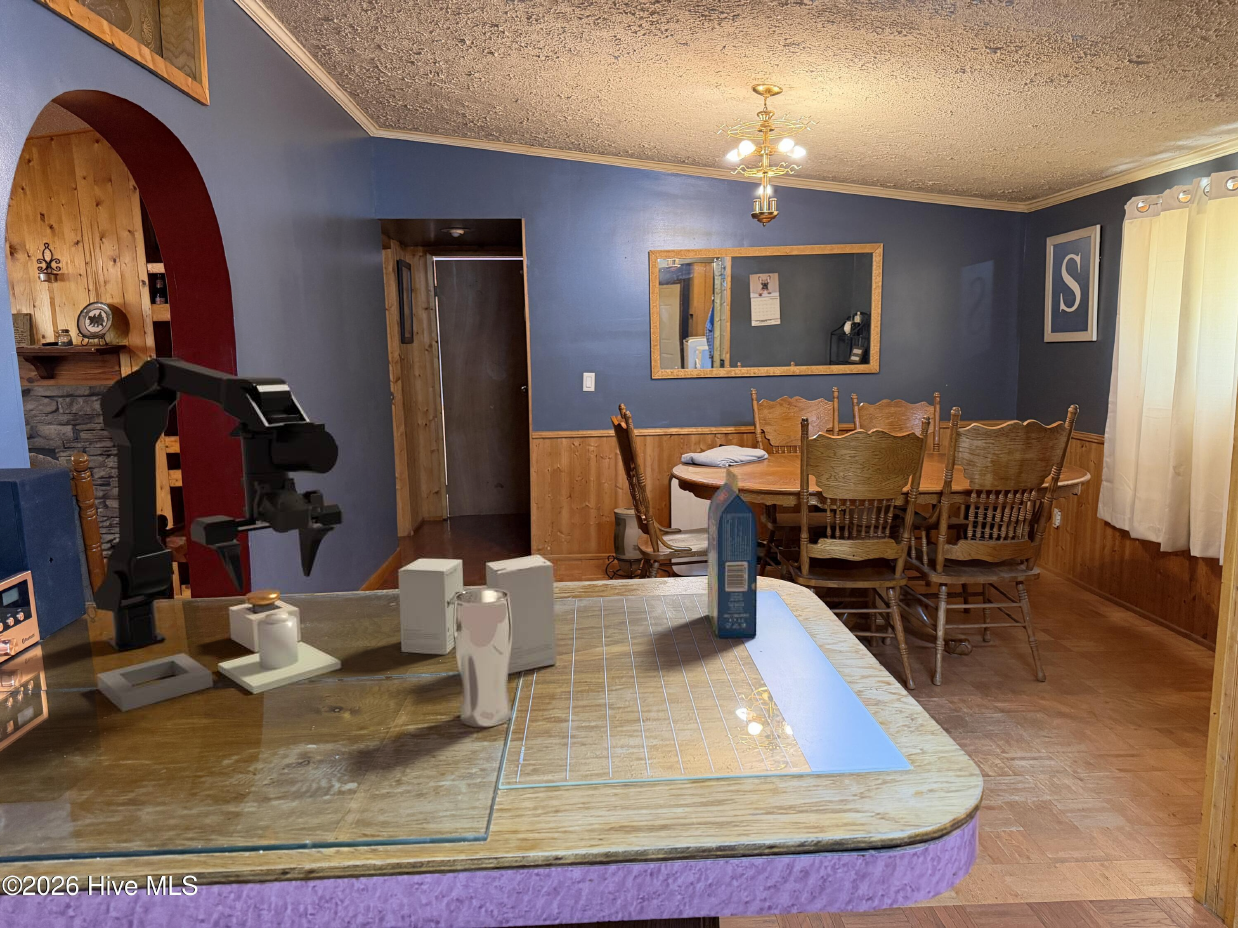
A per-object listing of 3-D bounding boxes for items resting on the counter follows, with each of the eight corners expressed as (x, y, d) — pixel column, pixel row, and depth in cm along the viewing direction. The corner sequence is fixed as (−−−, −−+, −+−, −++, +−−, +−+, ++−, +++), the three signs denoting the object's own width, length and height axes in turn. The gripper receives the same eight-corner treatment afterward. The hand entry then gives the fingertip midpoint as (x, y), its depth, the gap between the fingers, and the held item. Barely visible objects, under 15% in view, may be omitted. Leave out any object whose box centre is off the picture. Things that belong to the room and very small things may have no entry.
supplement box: (447, 655, 118) (443, 571, 117) (400, 652, 120) (396, 569, 118) (466, 638, 125) (463, 558, 124) (422, 635, 127) (418, 556, 125)
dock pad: (218, 670, 113) (218, 663, 113) (301, 647, 122) (301, 641, 122) (254, 693, 105) (253, 686, 105) (340, 667, 114) (340, 660, 114)
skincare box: (543, 652, 119) (540, 553, 117) (558, 666, 114) (556, 562, 112) (487, 662, 115) (484, 560, 113) (500, 676, 110) (497, 569, 108)
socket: (98, 688, 108) (97, 674, 107) (184, 666, 115) (183, 652, 115) (122, 711, 100) (121, 696, 100) (212, 686, 108) (211, 671, 108)
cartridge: (253, 662, 113) (250, 615, 113) (288, 653, 117) (286, 607, 116) (268, 671, 110) (266, 623, 109) (304, 661, 114) (302, 614, 113)
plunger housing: (231, 638, 127) (228, 607, 126) (275, 627, 132) (273, 597, 131) (255, 652, 120) (252, 619, 120) (301, 640, 126) (298, 608, 125)
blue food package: (744, 613, 136) (745, 465, 133) (757, 637, 124) (758, 475, 121) (706, 614, 136) (706, 466, 133) (716, 638, 124) (716, 476, 121)
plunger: (243, 628, 126) (240, 594, 125) (273, 621, 129) (271, 587, 129) (255, 635, 123) (253, 600, 122) (287, 627, 126) (284, 593, 125)
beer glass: (460, 705, 101) (455, 588, 99) (516, 703, 101) (513, 586, 99) (453, 731, 94) (448, 605, 92) (514, 727, 94) (510, 602, 93)
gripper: (217, 484, 98) (227, 610, 100) (359, 468, 111) (366, 579, 113) (184, 476, 105) (194, 593, 107) (321, 462, 119) (327, 566, 121)
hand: (274, 582), depth 112 cm, fingers open, 9 cm apart
